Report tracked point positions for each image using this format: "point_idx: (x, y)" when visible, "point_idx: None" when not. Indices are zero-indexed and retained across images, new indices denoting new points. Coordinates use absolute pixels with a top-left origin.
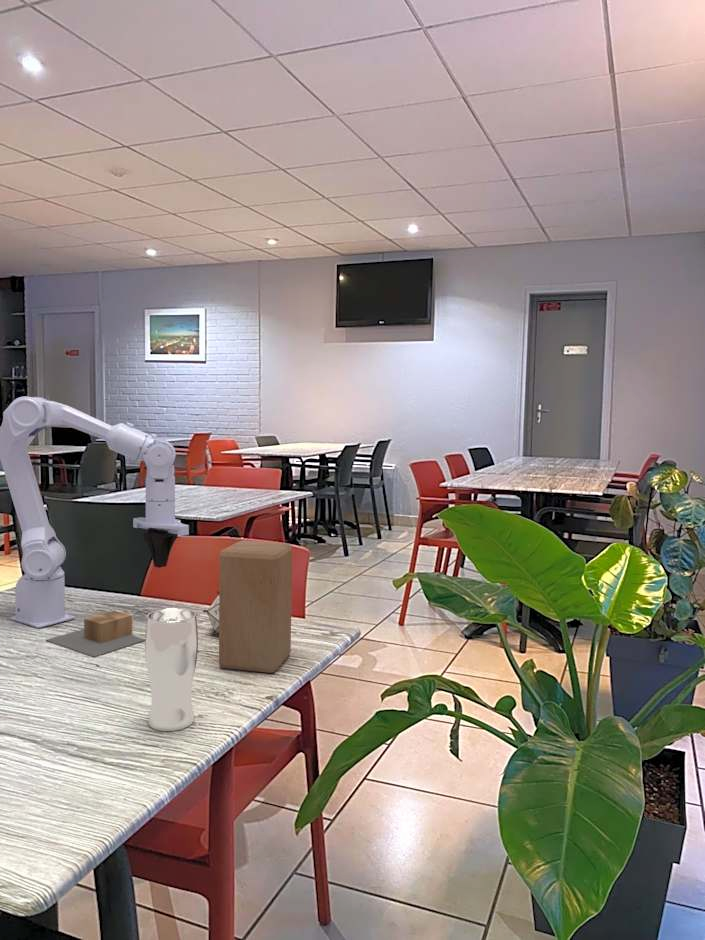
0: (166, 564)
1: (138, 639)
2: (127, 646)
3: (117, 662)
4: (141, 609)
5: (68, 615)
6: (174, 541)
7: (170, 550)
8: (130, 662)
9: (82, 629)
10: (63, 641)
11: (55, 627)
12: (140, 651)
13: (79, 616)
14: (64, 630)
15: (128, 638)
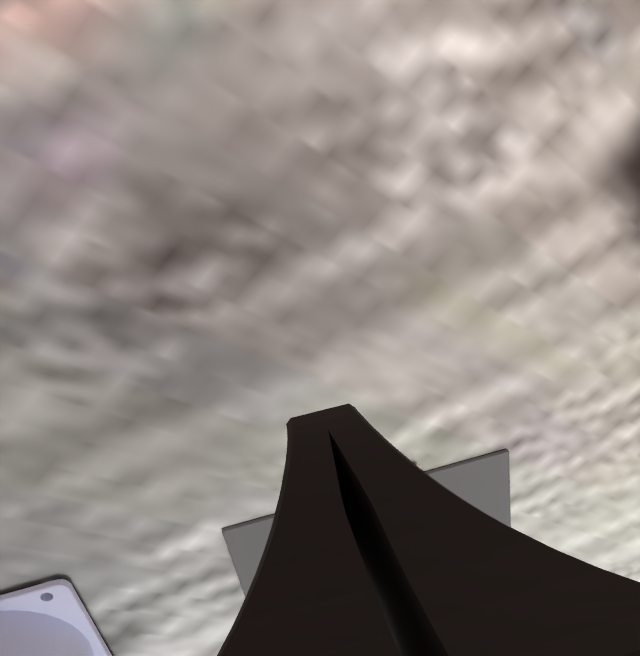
0: (358, 413)
1: (488, 470)
2: (508, 510)
3: (588, 561)
4: (62, 292)
5: (31, 600)
6: (560, 552)
7: (440, 484)
8: (617, 537)
9: (241, 581)
10: None
11: (137, 635)
12: (573, 493)
13: (24, 551)
14: (195, 618)
15: (453, 492)
